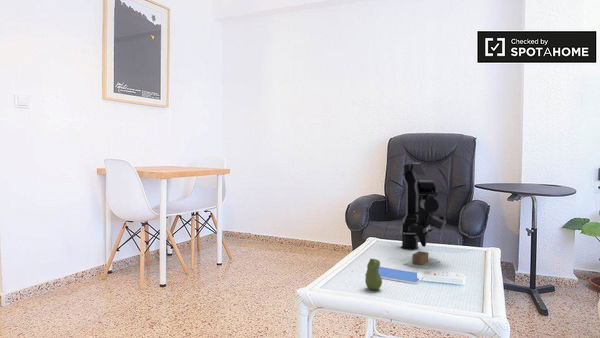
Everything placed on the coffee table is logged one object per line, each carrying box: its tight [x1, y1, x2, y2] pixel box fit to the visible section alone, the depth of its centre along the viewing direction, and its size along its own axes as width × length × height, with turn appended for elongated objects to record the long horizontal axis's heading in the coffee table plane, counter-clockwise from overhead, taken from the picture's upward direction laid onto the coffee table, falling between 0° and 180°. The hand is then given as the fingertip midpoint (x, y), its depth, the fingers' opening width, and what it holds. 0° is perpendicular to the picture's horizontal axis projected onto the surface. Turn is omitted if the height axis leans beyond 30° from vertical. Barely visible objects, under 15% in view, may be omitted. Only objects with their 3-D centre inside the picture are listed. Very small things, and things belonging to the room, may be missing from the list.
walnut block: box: [411, 250, 429, 266], centre depth 162 cm, size 4×4×7 cm
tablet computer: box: [364, 266, 421, 285], centre depth 146 cm, size 19×13×1 cm, turn 59°
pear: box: [365, 258, 383, 291], centre depth 130 cm, size 6×5×10 cm
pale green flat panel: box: [403, 258, 440, 270], centre depth 163 cm, size 10×14×1 cm
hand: (423, 246), depth 165 cm, fingers closed
